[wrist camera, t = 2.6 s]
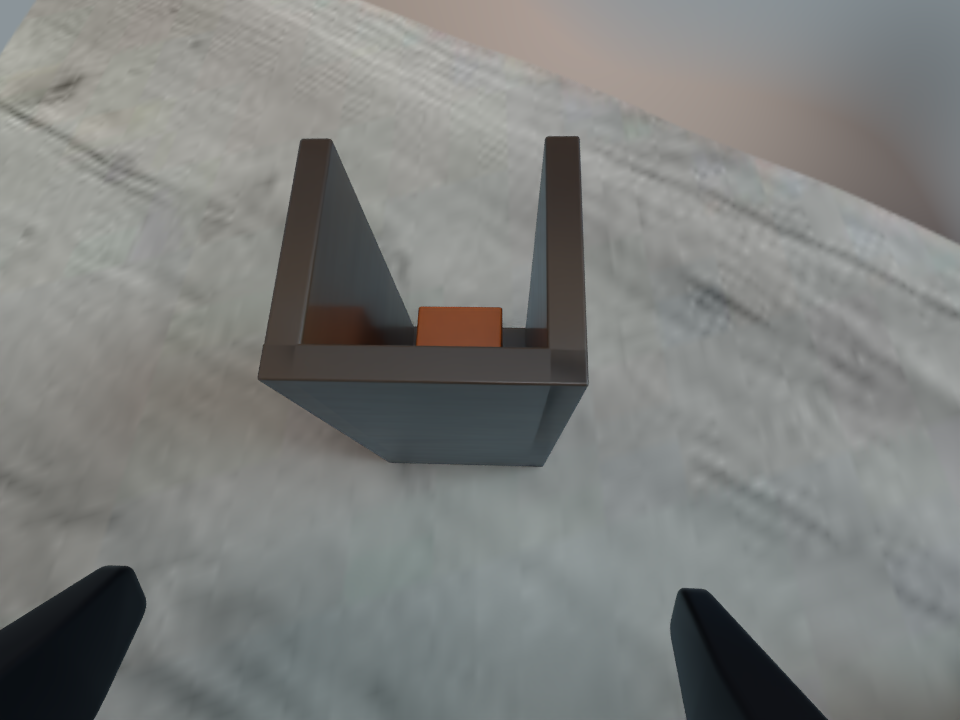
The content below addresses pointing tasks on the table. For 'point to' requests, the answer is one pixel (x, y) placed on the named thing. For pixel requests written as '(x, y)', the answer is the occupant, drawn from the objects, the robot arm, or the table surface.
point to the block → (460, 326)
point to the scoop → (392, 337)
